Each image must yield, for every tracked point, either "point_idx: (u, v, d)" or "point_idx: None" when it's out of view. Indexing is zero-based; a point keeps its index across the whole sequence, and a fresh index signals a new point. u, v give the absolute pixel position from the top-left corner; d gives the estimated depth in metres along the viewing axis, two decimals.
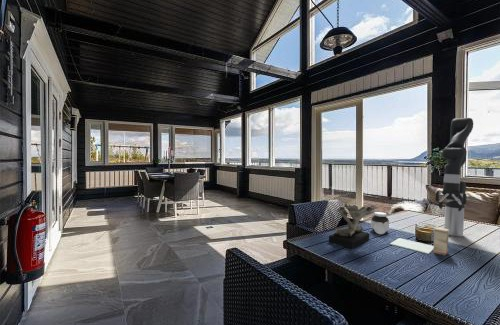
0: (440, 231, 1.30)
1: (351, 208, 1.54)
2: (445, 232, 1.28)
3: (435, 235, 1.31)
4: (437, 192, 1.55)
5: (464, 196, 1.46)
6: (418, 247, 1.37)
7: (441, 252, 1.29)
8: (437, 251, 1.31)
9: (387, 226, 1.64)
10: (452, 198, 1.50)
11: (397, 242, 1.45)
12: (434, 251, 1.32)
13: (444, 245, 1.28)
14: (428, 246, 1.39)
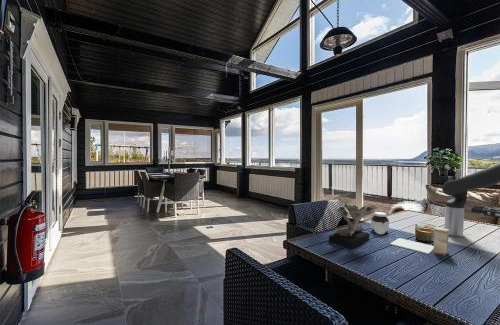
0: (440, 231, 1.30)
1: (351, 208, 1.54)
2: (445, 232, 1.28)
3: (435, 235, 1.31)
4: None
5: None
6: (418, 247, 1.37)
7: (441, 252, 1.29)
8: (437, 251, 1.31)
9: (387, 226, 1.64)
10: None
11: (397, 242, 1.45)
12: (434, 251, 1.32)
13: (444, 245, 1.28)
14: (428, 246, 1.39)
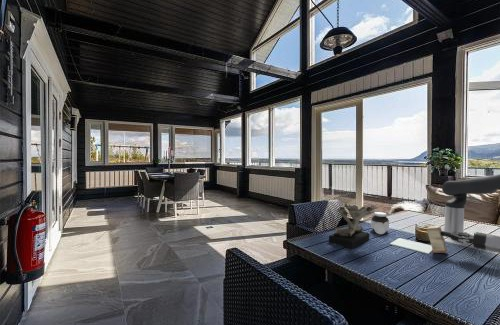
0: (432, 229, 1.32)
1: (351, 208, 1.54)
2: (437, 229, 1.30)
3: (429, 234, 1.33)
4: None
5: None
6: (418, 247, 1.37)
7: (440, 250, 1.30)
8: (436, 250, 1.31)
9: (387, 226, 1.64)
10: None
11: (397, 242, 1.45)
12: (434, 251, 1.32)
13: (440, 242, 1.29)
14: (428, 246, 1.39)
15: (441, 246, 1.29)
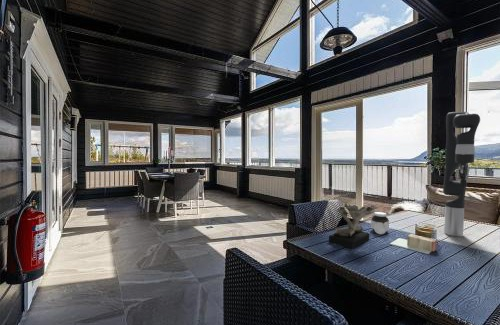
0: (408, 240, 1.40)
1: (351, 208, 1.54)
2: (408, 237, 1.40)
3: (413, 245, 1.38)
4: (465, 171, 1.29)
5: None
6: None
7: (431, 244, 1.32)
8: (431, 247, 1.32)
9: (387, 226, 1.64)
10: None
11: (397, 242, 1.45)
12: (432, 250, 1.32)
13: (422, 240, 1.35)
14: None
15: (427, 241, 1.34)
